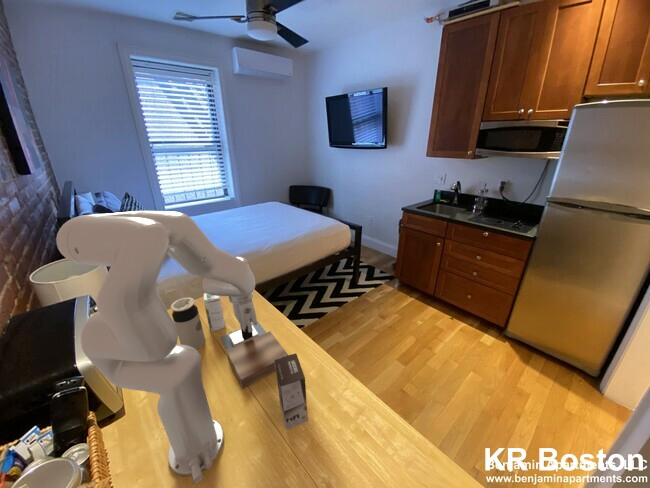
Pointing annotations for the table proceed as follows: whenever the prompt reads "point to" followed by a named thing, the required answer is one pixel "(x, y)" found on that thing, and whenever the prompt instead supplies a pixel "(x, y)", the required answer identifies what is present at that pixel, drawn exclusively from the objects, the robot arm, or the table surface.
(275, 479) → the table surface
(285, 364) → the coffee box
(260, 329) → the mat
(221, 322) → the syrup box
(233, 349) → the brown stand
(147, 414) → the table surface
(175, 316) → the travel mug
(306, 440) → the table surface
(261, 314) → the table surface
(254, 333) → the white block
